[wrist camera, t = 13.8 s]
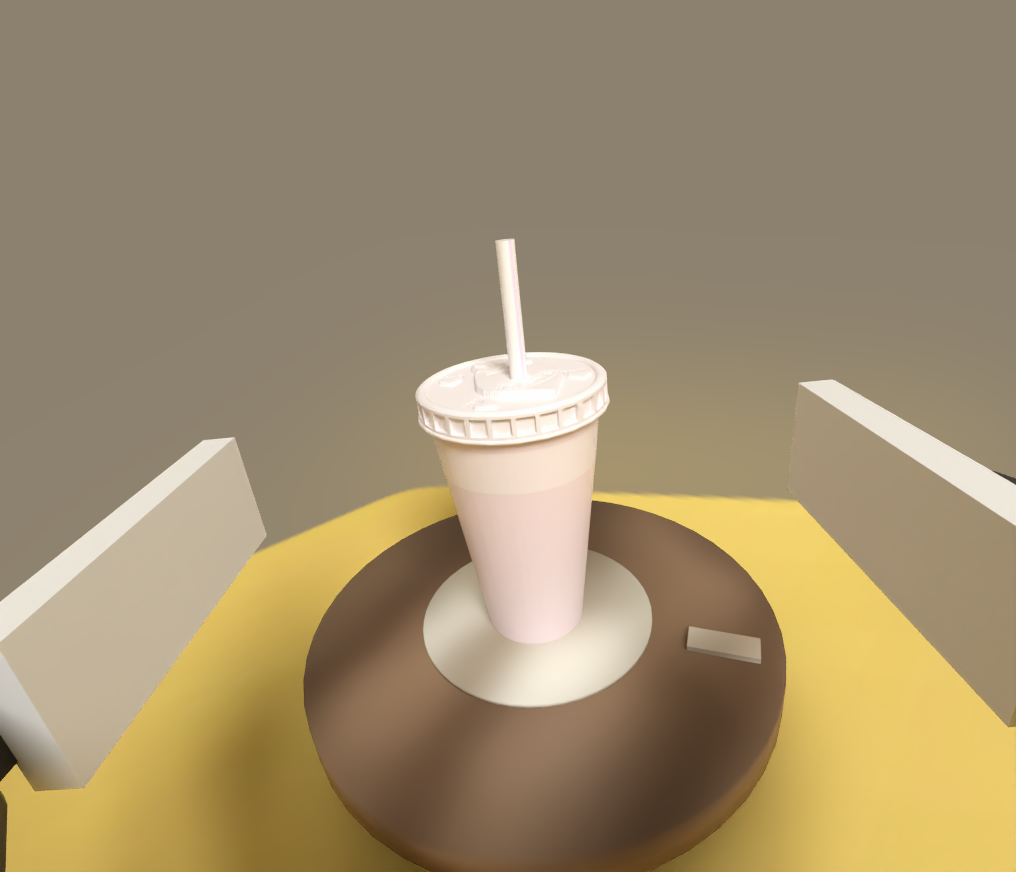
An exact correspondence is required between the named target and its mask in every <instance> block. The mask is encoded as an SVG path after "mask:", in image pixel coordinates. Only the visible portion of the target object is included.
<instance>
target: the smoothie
mask: <svg viewBox="0 0 1016 872" xmlns="http://www.w3.org/2000/svg"><path fill="white" fill-rule="evenodd" d="M495 243H496V252H497V261H498V270H499V279H500V288H501V296H502V306H503V315H504V324H505V333H506V342H507V351H508V354H505V355H497V356H491V357H486V358H481V359H476V360H472V361H468V362H464V363H461V364H458V365H455V366H452V367H449V368H447V369H444V370H442V371H440V372H438V373H436V374H434V375H432V376H430V377H429V378H428V379H427V380H425V381H424V382H423V383H422V384H421V385H420V386H419V388H418V389H417V392H416V400H417V406H418V411H419V413H418V420H419V425H420V426H421V427H422V428H423V429H424V430H425V431H426V432H427V433H428V434H430V435H432V436H433V438H434V441H435V444H436V448H437V451H438V454H439V458H440V461H441V465H442V468H443V472H444V474H445V477H446V480H447V483H448V486H449V489H450V492H451V496H452V499H453V502H454V505H455V508H456V511H457V515H458V518H459V521H460V524H461V527H462V530H463V534H464V537H465V540H466V543H467V546H468V549H469V553H470V556H471V559H472V562H473V565H474V569H475V572H476V575H477V578H478V581H479V584H480V588H481V591H482V594H483V597H484V600H485V603H486V607H487V610H488V613H489V616H490V619H491V622H492V624H493V626H494V628H495V629H496V630H497V631H498V632H499V633H500V634H501V635H503V636H504V637H506V638H508V639H510V640H513V641H516V642H520V643H527V644H539V643H545V642H550V641H553V640H556V639H558V638H561V637H563V636H564V635H566V634H568V633H569V632H570V631H571V630H572V629H573V628H575V626H576V625H577V624H578V622H579V620H580V618H581V615H582V609H583V597H584V585H585V574H586V562H587V550H588V538H589V527H590V515H591V503H592V492H593V480H594V468H595V458H596V447H597V432H598V417H599V416H601V415H602V414H603V413H604V412H605V410H606V408H607V406H608V404H609V402H610V400H609V396H608V392H607V374H606V371H605V370H604V369H603V367H602V366H601V365H599V364H597V363H596V362H594V361H592V360H589V359H586V358H583V357H580V356H575V355H570V354H562V353H548V352H532V353H531V352H529V353H525V344H524V335H523V325H522V314H521V304H520V294H519V283H518V273H517V263H516V253H515V242H514V239H503V240H497V241H495Z"/></svg>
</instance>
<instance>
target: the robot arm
mask: <svg viewBox="0 0 1016 872" xmlns="http://www.w3.org/2000/svg"><path fill="white" fill-rule="evenodd" d="M787 490H788V491H789V492H790V493H791V494H792V495H793V496H794V497H795V499H796V500H797V501H798V502H799V503H800V504H801V505H802V506H803V507H804V508H805V509H806V510H807V511H808V513H809V514H810V515H811V516H812V517H813V518H814V519H815V520H816V521H817V522H818V523H819V524H820V525H821V526H822V528H823V529H824V530H825V531H826V532H827V533H828V534H829V535H830V536H831V537H832V538H833V539H834V540H835V542H836V543H837V544H838V545H839V546H840V547H841V548H842V549H843V550H844V551H845V552H846V553H847V554H848V556H849V557H850V558H851V559H852V560H853V561H854V562H855V563H856V564H857V565H858V566H859V567H860V568H861V569H862V571H863V572H864V573H865V574H866V575H867V576H868V577H869V578H870V579H871V580H872V581H873V582H874V583H875V585H876V586H877V587H878V588H879V589H880V590H881V591H882V592H883V593H884V594H885V595H886V596H887V597H888V599H889V600H890V601H891V602H892V603H893V604H894V605H895V606H896V607H897V608H898V609H899V610H900V611H901V612H902V614H903V615H904V616H905V617H906V618H907V619H908V620H909V621H910V622H911V623H912V624H913V625H914V626H915V628H916V629H917V630H918V631H919V632H920V633H921V634H922V635H923V636H924V637H925V638H926V639H927V640H928V641H929V643H930V644H931V645H932V646H933V647H934V648H935V649H936V650H937V651H938V652H939V653H940V654H941V655H942V657H943V658H944V659H945V660H946V661H947V662H948V663H949V664H950V665H951V666H952V667H953V668H954V669H955V671H956V672H957V673H958V674H959V675H960V676H961V677H962V678H963V679H964V680H965V681H966V682H967V683H968V684H969V686H970V687H971V688H972V689H973V690H974V691H975V692H976V693H977V694H978V695H979V696H980V697H981V698H982V700H983V701H984V702H985V703H986V704H987V705H988V706H989V707H990V708H991V709H992V710H993V711H994V712H995V714H996V715H997V716H998V717H999V718H1000V719H1001V720H1002V721H1003V722H1004V723H1005V724H1006V725H1007V726H1008V727H1016V479H1015V478H1012V477H1009V476H1006V475H1004V474H1001V473H998V472H995V471H991V470H989V469H987V468H986V467H984V466H982V465H980V464H979V463H977V462H975V461H973V460H972V459H970V458H968V457H966V456H965V455H963V454H961V453H960V452H958V451H956V450H954V449H953V448H951V447H949V446H947V445H945V444H944V443H942V442H941V441H939V440H937V439H935V438H934V437H932V436H930V435H928V434H927V433H925V432H923V431H922V430H920V429H918V428H916V427H915V426H913V425H911V424H909V423H908V422H906V421H904V420H902V419H901V418H899V417H897V416H896V415H894V414H892V413H890V412H889V411H887V410H885V409H883V408H882V407H880V406H878V405H876V404H875V403H873V402H871V401H870V400H868V399H866V398H864V397H863V396H860V395H859V394H857V393H856V392H854V391H852V390H850V389H848V388H847V387H845V386H844V385H842V384H840V383H838V382H837V381H835V380H823V381H813V382H803V383H799V384H798V393H797V402H796V413H795V421H794V431H793V440H792V449H791V459H790V468H789V478H788V488H787ZM265 537H266V532H265V529H264V526H263V523H262V520H261V517H260V514H259V511H258V507H257V504H256V501H255V498H254V495H253V492H252V489H251V486H250V483H249V480H248V477H247V474H246V471H245V468H244V465H243V462H242V459H241V456H240V453H239V450H238V447H237V444H236V441H235V438H234V437H233V438H224V439H212V440H203V441H202V442H201V443H199V444H198V445H197V446H196V447H194V448H193V449H192V450H191V451H189V452H188V453H187V454H186V455H184V456H183V457H182V458H180V460H178V461H177V462H175V463H174V464H173V465H172V466H170V467H169V468H168V469H167V470H165V471H164V472H163V473H162V474H160V475H159V476H158V477H157V478H155V479H154V480H153V481H152V482H150V483H149V484H148V485H147V486H145V487H144V488H143V489H141V490H140V491H139V492H138V493H137V494H135V495H134V496H133V497H131V498H130V499H129V500H128V501H127V502H125V503H124V504H123V505H121V506H120V507H119V508H118V509H116V510H115V511H114V512H113V513H111V514H110V515H109V516H108V517H106V518H105V519H104V520H103V521H101V522H100V523H99V524H98V525H96V526H95V527H94V528H93V529H91V530H90V531H89V532H87V533H86V534H85V535H84V536H82V537H81V538H80V539H79V540H77V541H76V542H75V543H74V544H72V545H71V546H70V547H69V548H67V549H66V550H65V551H64V552H62V553H61V554H60V555H59V556H57V557H56V558H55V559H53V560H52V561H51V562H50V563H48V564H47V565H46V566H45V567H43V568H42V569H41V570H40V571H38V572H37V573H36V574H35V575H33V576H32V577H31V578H30V579H28V580H27V581H26V582H25V583H23V584H22V585H21V586H20V587H18V588H17V589H16V590H14V591H13V592H12V593H11V594H10V595H8V596H7V597H6V598H5V599H3V600H2V601H1V602H0V781H1V780H2V779H3V778H4V777H5V776H6V775H7V773H8V772H9V771H10V770H11V769H12V768H13V766H14V765H15V764H17V765H18V767H19V768H20V770H21V771H22V773H23V774H24V776H25V777H26V779H27V780H28V782H29V783H30V785H31V786H32V788H33V789H34V791H45V790H60V789H75V788H85V786H86V785H87V783H88V782H89V781H90V779H91V778H92V777H93V775H94V774H95V772H96V771H97V770H98V768H99V767H100V765H101V764H102V763H103V761H104V760H105V759H106V757H107V756H108V754H109V753H110V752H111V750H112V749H113V747H114V746H115V745H116V743H117V742H118V740H119V739H120V738H121V736H122V735H123V734H124V732H125V731H126V729H127V728H128V727H129V725H130V724H131V722H132V721H133V720H134V718H135V717H136V716H137V714H138V713H139V711H140V710H141V709H142V707H143V706H144V704H145V703H146V702H147V700H148V699H149V698H150V696H151V695H152V693H153V692H154V691H155V689H156V688H157V686H158V685H159V684H160V682H161V681H162V680H163V678H164V677H165V675H166V674H167V673H168V671H169V670H170V668H171V667H172V666H173V664H174V663H175V662H176V660H177V659H178V657H179V656H180V655H181V653H182V652H183V650H184V649H185V648H186V646H187V645H188V643H189V642H190V641H191V639H192V638H193V637H194V635H195V634H196V632H197V631H198V630H199V628H200V627H201V625H202V624H203V623H204V621H205V620H206V619H207V617H208V616H209V614H210V613H211V612H212V610H213V609H214V607H215V606H216V605H217V603H218V602H219V601H220V599H221V598H222V596H223V595H224V594H225V592H226V591H227V589H228V588H229V587H230V585H231V584H232V583H233V581H234V580H235V578H236V577H237V576H238V574H239V573H240V571H241V570H242V569H243V567H244V566H245V565H246V563H247V562H248V560H249V559H250V558H251V556H252V555H253V553H254V552H255V551H256V549H257V548H258V546H259V545H260V544H261V542H262V541H263V540H264V538H265ZM6 833H7V803H6V800H5V798H4V795H3V794H2V792H1V791H0V872H5V868H6Z"/></svg>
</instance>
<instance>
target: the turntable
mask: <svg viewBox="0 0 1016 872" xmlns="http://www.w3.org/2000/svg"><path fill="white" fill-rule="evenodd" d="M785 686H786V655H785V649H784V644H783V638H782V633H781V630H780V628H779V625H778V622H777V620H776V617H775V614H774V612H773V610H772V608H771V606H770V604H769V603H768V601H767V599H766V597H765V596H764V594H763V592H762V590H761V589H760V588H759V587H758V585H757V584H756V583H755V582H754V580H753V579H752V578H751V576H750V575H749V574H748V573H747V572H746V571H745V570H744V569H743V568H742V567H741V566H740V565H739V564H738V563H737V562H736V561H735V560H734V559H733V558H732V557H731V556H730V555H728V554H727V553H726V552H724V551H723V550H722V549H720V548H719V547H718V546H717V545H715V544H714V543H713V542H711V541H709V540H708V539H706V538H704V537H703V536H701V535H699V534H698V533H696V532H694V531H693V530H691V529H689V528H686V527H684V526H682V525H680V524H678V523H676V522H674V521H672V520H669V519H666V518H664V517H661V516H658V515H656V514H653V513H650V512H646V511H643V510H639V509H636V508H632V507H628V506H623V505H618V504H613V503H607V502H600V501H592V503H591V515H590V527H589V538H588V550H587V562H586V574H585V585H584V597H583V609H582V615H581V618H580V620H579V622H578V624H577V625H576V626H575V628H573V629H572V630H571V631H570V632H569V633H568V634H566V635H564V636H563V637H561V638H558V639H556V640H553V641H550V642H545V643H539V644H527V643H520V642H516V641H513V640H510V639H508V638H506V637H504V636H503V635H501V634H500V633H499V632H498V631H497V630H496V629H495V628H494V626H493V624H492V622H491V619H490V616H489V613H488V610H487V607H486V603H485V600H484V597H483V594H482V591H481V588H480V584H479V581H478V578H477V575H476V572H475V569H474V565H473V562H472V559H471V556H470V553H469V549H468V546H467V543H466V540H465V537H464V534H463V530H462V527H461V524H460V521H459V518H458V515H455V516H453V517H450V518H447V519H444V520H441V521H439V522H437V523H435V524H432V525H430V526H428V527H425V528H423V529H421V530H419V531H417V532H415V533H414V534H412V535H410V536H408V537H406V538H404V539H402V540H401V541H399V542H398V543H396V544H395V545H393V546H391V547H390V548H388V549H387V550H385V551H384V552H382V553H381V554H380V555H379V556H377V557H376V558H375V559H373V560H372V561H371V562H370V563H368V564H367V565H366V566H365V567H364V568H363V569H362V570H361V571H360V572H359V573H357V574H356V575H355V576H354V577H353V578H352V579H351V580H350V581H349V583H348V584H347V585H346V586H345V587H344V588H343V590H342V591H341V592H340V593H339V594H338V595H337V597H336V598H335V600H334V601H333V603H332V604H331V606H330V607H329V609H328V610H327V612H326V613H325V615H324V616H323V618H322V620H321V622H320V624H319V627H318V629H317V631H316V633H315V635H314V637H313V640H312V644H311V647H310V650H309V653H308V656H307V661H306V668H305V675H304V706H305V711H306V715H307V720H308V724H309V729H310V732H311V735H312V738H313V741H314V744H315V747H316V750H317V752H318V755H319V758H320V761H321V763H322V765H323V768H324V770H325V772H326V775H327V777H328V779H329V782H330V784H331V786H332V788H333V789H334V791H335V792H336V794H337V795H338V797H339V798H340V800H341V801H342V803H343V804H344V805H345V807H346V808H347V810H348V811H349V813H350V814H351V815H352V816H353V817H354V818H355V819H356V820H357V821H358V822H359V823H360V824H361V825H362V826H363V827H364V828H365V829H366V830H367V831H368V832H369V833H370V834H371V835H372V836H373V837H375V838H376V839H377V840H379V841H380V842H382V843H383V844H384V845H386V846H387V847H389V848H390V849H391V850H393V851H394V852H396V853H397V854H398V855H400V856H401V857H403V858H405V859H407V860H409V861H411V862H413V863H415V864H417V865H419V866H421V867H424V868H426V869H428V870H430V871H432V872H647V871H650V870H652V869H654V868H656V867H658V866H660V865H662V864H664V863H666V862H668V861H670V860H672V859H674V858H676V857H677V856H679V855H681V854H683V853H685V852H687V851H689V850H690V849H692V848H693V847H694V846H696V845H697V844H698V843H700V842H701V841H702V840H704V839H705V838H706V837H708V836H709V835H710V834H712V833H713V832H714V831H716V830H717V829H718V828H720V827H721V826H722V825H723V824H724V823H725V822H726V821H727V820H728V818H729V817H730V816H731V815H732V814H733V813H734V812H735V811H736V810H737V809H738V808H739V807H740V806H741V805H742V804H743V803H744V802H745V801H746V799H747V797H748V796H749V794H750V793H751V791H752V790H753V788H754V787H755V785H756V784H757V782H758V781H759V779H760V778H761V776H762V775H763V773H764V771H765V769H766V766H767V764H768V761H769V759H770V757H771V754H772V752H773V749H774V747H775V745H776V741H777V736H778V731H779V727H780V722H781V717H782V710H783V702H784V694H785Z"/></svg>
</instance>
